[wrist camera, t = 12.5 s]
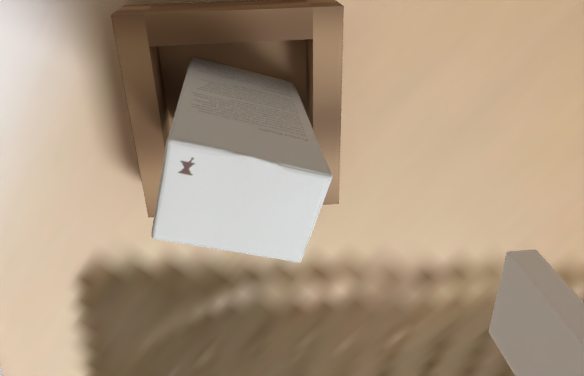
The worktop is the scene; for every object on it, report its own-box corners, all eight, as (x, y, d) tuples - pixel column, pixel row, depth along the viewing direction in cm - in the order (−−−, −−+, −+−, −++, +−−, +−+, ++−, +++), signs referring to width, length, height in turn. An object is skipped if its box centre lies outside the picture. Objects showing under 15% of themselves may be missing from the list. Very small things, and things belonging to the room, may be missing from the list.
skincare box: (177, 126, 29) (144, 240, 18) (191, 54, 27) (163, 134, 16) (278, 148, 30) (302, 268, 19) (297, 81, 28) (336, 172, 17)
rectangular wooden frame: (124, 5, 26) (110, 15, 23) (331, -3, 27) (343, 6, 24) (156, 190, 31) (148, 217, 28) (329, 178, 32) (338, 203, 29)
